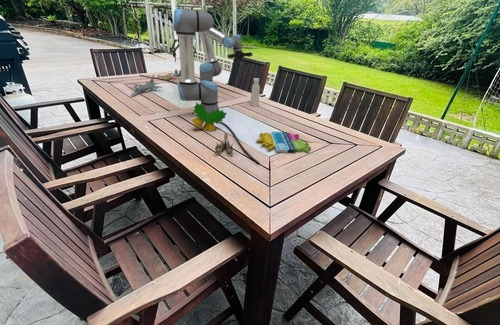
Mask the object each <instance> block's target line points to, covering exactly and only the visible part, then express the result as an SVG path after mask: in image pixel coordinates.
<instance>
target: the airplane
mask: <svg viewBox="0 0 500 325" xmlns="http://www.w3.org/2000/svg"><path fill="white" fill-rule="evenodd" d="M151 77H152V78H150V80H149V81H144V83H145V84H139V83H133V82H132V83H130V85H134V86H133V87H132V88H133V89H135V88H136V89H135V90H134V91H132V92H131V94H130V95H129V96H128V97H135V96H137V95H139V94H141V93H148V92H150V91H151V90H153V91H156V90H158V88H161V86H159V85H160V84H161V83H160V82H155V81H154V79H155V78H154V77H155V74H152V76H151Z"/></svg>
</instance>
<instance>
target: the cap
mask: <svg viewBox="0 0 500 325" xmlns="http://www.w3.org/2000/svg"><path fill="white" fill-rule="evenodd" d="M254 82H258V83H260V78H258V77H254V78H253V83H254Z"/></svg>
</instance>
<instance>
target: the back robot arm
mask: <svg viewBox="0 0 500 325" xmlns="http://www.w3.org/2000/svg"><path fill="white" fill-rule="evenodd" d="M197 33H198V34H199V37H200V40H201V44H202V48H203V52H204V56H205V60H206V62H203V63H200V65H199V68H198V69H199V82H200V81H201V80H207V81H212V82H214V80H213V78H214V77H217V76H218V77H219V75H221V73H222V71H223V67H222V65H221V63H219V60H218V59H217V58H216V55H215V51H214V46H213V42H212V40H211V38H212V39H214V40H215V41H217V42H218V43H220V44H222V45H223V46H224V47H225V48H226V49H232V51H233V53H230V54H227V58H228V59H229V60H233V59H236V60H238V61H240V60H242V59H243V58H246V57H249V58H251V57H253V52H251V51H248V52H243V50H242V38H241V35H240V34H233V35H231V37H230V36H228V35H227V34H225V33H223V32H222V31H221V30H218V29H217V28H215V27H212V28H211V29H210V30H207V31H204V32H197ZM139 77H144V78H150V79H151V78H152V76H149V75H143V74H139ZM154 79H156V80H162V81H165V82H170V83H173V84H177V83H178V82H177V81H172V80H170V79H169V80H165V79H163V78H161V77H155V76H154Z"/></svg>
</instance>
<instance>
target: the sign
mask: <svg viewBox="0 0 500 325" xmlns="http://www.w3.org/2000/svg"><path fill="white" fill-rule="evenodd" d="M299 136H300V135H299V134H298V133H296V134H294V133H291V132H287V131H270V132H264V133H263V132H260V133H259V139H258V138H257V139H256V143H257V144H261V148H263V147H264V148H265V149H267V151H268V152H271V151H272V150H273V149H275V152H276V153H283V154H285V153H287V154H288V153H290V154H293V153H296V152H298V153H301V152H305V153H310V151H311V150H312V149H311V148H312V146H309V142H304V141H303V139H302V138H299Z"/></svg>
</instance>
